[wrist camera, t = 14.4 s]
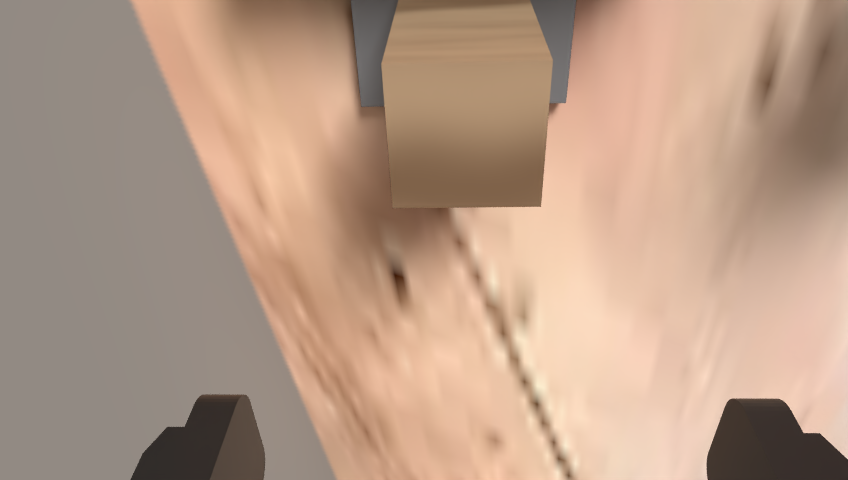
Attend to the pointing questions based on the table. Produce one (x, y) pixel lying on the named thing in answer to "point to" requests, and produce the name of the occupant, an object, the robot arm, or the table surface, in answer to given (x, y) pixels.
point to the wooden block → (466, 104)
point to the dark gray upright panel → (373, 26)
